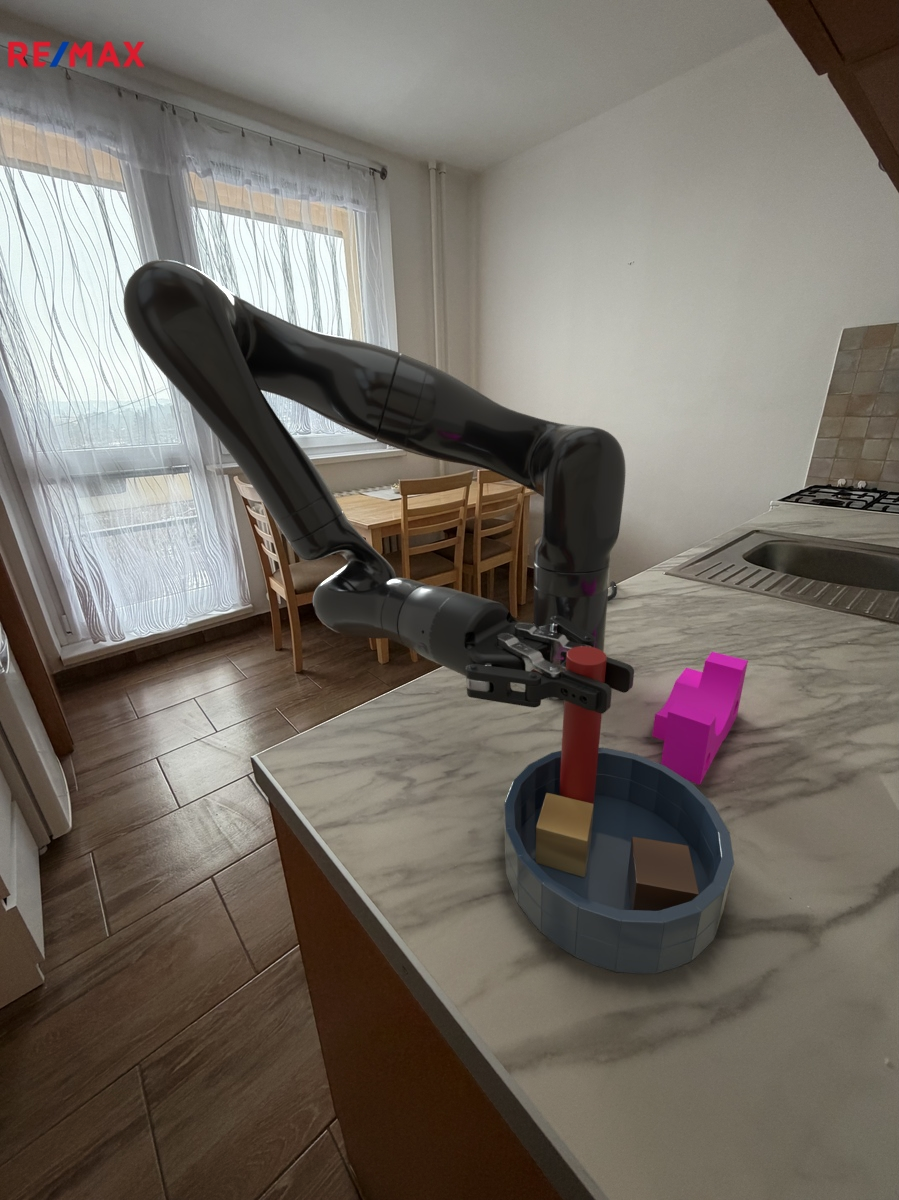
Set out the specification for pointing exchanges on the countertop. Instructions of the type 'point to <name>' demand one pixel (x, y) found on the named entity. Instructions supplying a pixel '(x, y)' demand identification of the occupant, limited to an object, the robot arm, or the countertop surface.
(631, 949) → the bowl
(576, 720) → the stirring stick
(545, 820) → the birch cube
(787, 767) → the countertop surface
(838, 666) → the countertop surface
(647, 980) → the countertop surface
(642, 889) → the walnut cube
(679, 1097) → the countertop surface
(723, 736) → the toy block
